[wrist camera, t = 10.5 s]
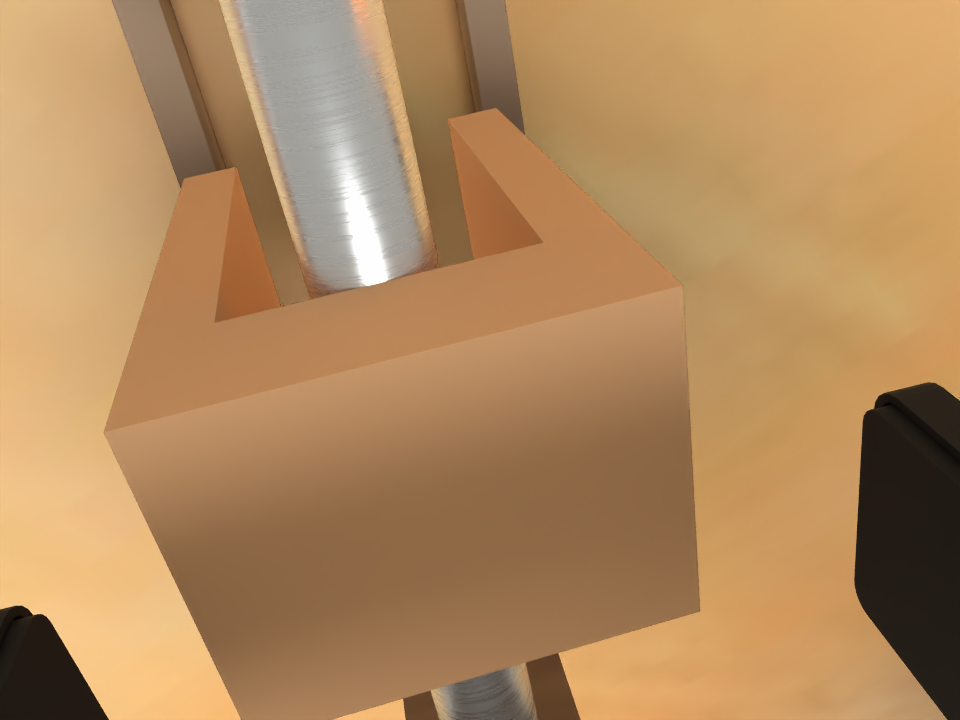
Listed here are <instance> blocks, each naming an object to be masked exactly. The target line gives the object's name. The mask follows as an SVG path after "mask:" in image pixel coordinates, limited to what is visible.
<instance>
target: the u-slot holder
mask: <svg viewBox="0 0 960 720" xmlns="http://www.w3.org/2000/svg"><path fill="white" fill-rule="evenodd" d="M447 120H448V125H449V130H450V136H451V141H452V146H453V152H454V157H455V162H456V168H457V173H458V178H459V184H460V189H461V194H462V200H463V205H464V210H465V216H466V221H467V226H468V232H469V237H470V242H471V248H472V253H473V258H474V260H471V261H467V262H462V263H458V264H454V265H450V266H446V267H442V268H438V269H434V270H430V271H426V272H421V273H417V274H413V275H409V276H405V277H401V278H397V279H393V280H389V281H385V282H381V283H377V284H373V285H368V286H364V287H360V288H356V289H352V290H348V291H344V292H340V293H335V294H331V295H327V296H323V297H319V298H315V299H311V300H307V301H303V302H299V303H294V304H290V305H286V306H282V307H281V305H280V302H279V299H278V296H277V293H276V289H275V286H274V283H273V280H272V277H271V274H270V271H269V268H268V265H267V261H266V258H265V255H264V252H263V249H262V246H261V243H260V240H259V237H258V233H257V230H256V227H255V224H254V221H253V218H252V215H251V212H250V209H249V205H248V202H247V199H246V196H245V193H244V190H243V187H242V184H241V181H240V177H239V174H238V171H237V168H236V167H233V168H229V169H224V170H220V171H216V172H211V173H207V174H202V175H198V176H193V177H189V178H185V179H184V181H183V184H182V187H181V190H180V193H179V197H178V200H177V203H176V206H175V209H174V212H173V216H172V219H171V222H170V225H169V228H168V231H167V234H166V238H165V241H164V244H163V247H162V250H161V253H160V256H159V260H158V263H157V266H156V269H155V272H154V275H153V279H152V282H151V285H150V288H149V291H148V294H147V297H146V301H145V304H144V307H143V310H142V313H141V316H140V320H139V323H138V326H137V329H136V332H135V335H134V338H133V342H132V345H131V348H130V351H129V354H128V357H127V360H126V364H125V367H124V370H123V373H122V376H121V379H120V383H119V386H118V389H117V392H116V395H115V398H114V401H113V405H112V408H111V411H110V414H109V417H108V420H107V423H106V427H105V430H104V434H105V436H106V438H107V440H108V443H109V445H110V447H111V449H112V451H113V453H114V455H115V457H116V459H117V461H118V463H119V465H120V468H121V470H122V472H123V474H124V476H125V478H126V480H127V482H128V484H129V486H130V488H131V490H132V493H133V495H134V497H135V499H136V501H137V503H138V505H139V507H140V509H141V511H142V513H143V516H144V518H145V520H146V522H147V524H148V526H149V528H150V530H151V532H152V534H153V536H154V538H155V541H156V543H157V545H158V547H159V549H160V551H161V553H162V555H163V557H164V559H165V561H166V563H167V566H168V568H169V570H170V572H171V574H172V576H173V578H174V580H175V582H176V584H177V586H178V589H179V591H180V593H181V595H182V597H183V599H184V601H185V603H186V605H187V607H188V609H189V611H190V614H191V616H192V618H193V620H194V622H195V624H196V626H197V628H198V630H199V632H200V634H201V636H202V639H203V641H204V643H205V645H206V647H207V649H208V651H209V653H210V655H211V657H212V659H213V661H214V664H215V666H216V668H217V670H218V672H219V674H220V676H221V678H222V680H223V682H224V684H225V687H226V689H227V691H228V693H229V695H230V697H231V699H232V701H233V703H234V705H235V707H236V709H237V712H238V714H239V716H240V718H241V720H332V719H335V718H339V717H342V716H345V715H349V714H352V713H356V712H359V711H362V710H366V709H369V708H373V707H376V706H379V705H383V704H386V703H390V702H393V701H396V700H400V699H403V698H407V697H410V696H413V695H417V694H420V693H424V692H427V691H430V690H434V689H437V688H441V687H444V686H447V685H451V684H454V683H458V682H461V681H464V680H468V679H471V678H475V677H478V676H481V675H485V674H488V673H492V672H495V671H498V670H502V669H505V668H509V667H512V666H515V665H519V664H522V663H526V662H529V661H532V660H536V659H539V658H543V657H546V656H549V655H553V654H556V653H560V652H563V651H566V650H570V649H573V648H577V647H580V646H583V645H587V644H590V643H594V642H597V641H601V640H604V639H607V638H611V637H614V636H618V635H621V634H624V633H628V632H631V631H635V630H638V629H641V628H645V627H648V626H652V625H655V624H658V623H662V622H665V621H669V620H672V619H675V618H679V617H682V616H686V615H689V614H692V613H696V612H699V611H700V598H699V579H698V561H697V542H696V523H695V504H694V485H693V467H692V448H691V429H690V410H689V391H688V372H687V354H686V335H685V316H684V297H683V285H682V284H681V283H680V282H679V281H677V280H676V279H675V278H674V277H673V276H672V275H671V274H670V273H669V272H668V271H667V270H666V269H665V268H664V267H663V266H662V265H661V264H660V263H659V262H658V261H656V260H655V259H654V258H653V257H652V256H651V255H650V254H649V253H648V252H647V251H646V250H645V249H644V248H643V247H642V246H641V245H640V244H639V243H638V242H637V241H635V240H634V239H633V238H632V237H631V236H630V235H629V234H628V233H627V232H626V231H625V230H624V229H623V228H622V227H621V226H620V225H619V224H618V223H617V222H615V221H614V220H613V219H612V218H611V217H610V216H609V215H608V214H607V213H606V212H605V211H604V210H603V209H602V208H601V207H600V206H599V205H598V204H597V203H596V202H594V201H593V200H592V199H591V198H590V197H589V196H588V195H587V194H586V193H585V192H584V191H583V190H582V189H581V188H580V187H579V186H578V185H577V184H576V183H575V182H573V181H572V180H571V179H570V178H569V177H568V176H567V175H566V174H565V173H564V172H563V171H562V170H561V169H560V168H559V167H558V166H557V165H556V164H555V163H553V162H552V161H551V160H550V159H549V158H548V157H547V156H546V155H545V154H544V153H543V152H542V151H541V150H540V149H539V148H538V147H537V146H536V145H535V144H534V143H532V142H531V141H530V140H529V139H528V138H527V137H526V136H525V135H524V134H523V133H522V132H521V131H520V130H519V129H518V128H517V127H516V126H515V125H514V124H513V123H511V122H510V121H509V120H508V119H507V118H506V117H505V116H504V115H503V114H502V113H501V112H500V111H499V110H498V109H497V108H494V109H489V110H485V111H480V112H476V113H472V114H467V115H463V116H458V117H454V118H450V119H447Z"/></svg>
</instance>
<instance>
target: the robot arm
mask: <svg viewBox="0 0 960 720" xmlns="http://www.w3.org/2000/svg"><path fill="white" fill-rule="evenodd" d="M854 580H855V589H856V593H857V596H858V599H859V601H860V603H861V605H862V607H863V609H864V611H865V612H866V614H867V615H868V616H869V618H870V619H871V620H872V622H873V623H874V624H875V626H876V627H877V628H878V629H879V631H880V632H881V633H882V635H883V636H884V637H885V639H886V640H887V641H888V643H889V644H890V645H891V646H892V648H893V649H894V650H895V652H896V653H897V654H898V656H899V657H900V658H901V660H902V661H903V662H904V663H905V665H906V666H907V667H908V669H909V670H910V671H911V673H912V674H913V675H914V677H915V678H916V679H917V681H918V682H919V683H920V684H921V686H922V687H923V688H924V690H925V691H926V692H927V694H928V695H929V696H930V698H931V699H932V700H933V701H934V703H935V704H936V705H937V707H938V708H939V709H940V711H941V712H942V713H943V715H944V716H945V717H946V718H947V720H960V401H959V400H958V399H957V398H955V397H954V396H953V395H952V394H950V393H949V392H948V391H947V390H945V389H944V388H943V387H941V386H939V385H937V384H936V383H924V384H920V385H916V386H912V387H908V388H904V389H899V390H895V391H891V392H887V393H884V394H882V395H880V396H879V397H878V398H877V400H876V402H875V407H874V409H871V410H869V411H867V412H866V413H865V415H864V419H863V429H862V447H861V466H860V485H859V503H858V522H857V541H856V559H855V578H854ZM0 720H109V719H108V718H107V716H106V714H105V713H104V711H103V709H102V707H101V706H100V704H99V702H98V701H97V699H96V697H95V696H94V694H93V692H92V691H91V689H90V687H89V686H88V684H87V682H86V681H85V679H84V677H83V675H82V674H81V672H80V670H79V669H78V667H77V665H76V664H75V662H74V660H73V659H72V657H71V655H70V654H69V652H68V650H67V649H66V647H65V645H64V643H63V642H62V640H61V638H60V637H59V635H58V633H57V632H56V630H55V628H54V627H53V625H52V623H51V622H50V621H49V619H48V618H47V617H46V616H44V615H43V614H37V615H32V613H31V612H30V611H29V610H28V609H27V608H25V607H23V606H13V607H9V608H5V609H0Z"/></svg>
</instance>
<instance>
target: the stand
mask: <svg viewBox="0 0 960 720" xmlns="http://www.w3.org/2000/svg"><path fill="white" fill-rule="evenodd" d="M112 2H113V5H114V8H115V10H116V13H117V16H118V18H119V21H120V24H121V27H122V29H123V32H124V35H125V38H126V40H127V43H128V46H129V49H130V51H131V54H132V57H133V59H134V62H135V65H136V68H137V70H138V73H139V76H140V79H141V81H142V84H143V87H144V89H145V92H146V95H147V98H148V100H149V103H150V106H151V109H152V111H153V114H154V117H155V120H156V122H157V125H158V128H159V130H160V133H161V136H162V139H163V141H164V144H165V147H166V150H167V152H168V155H169V158H170V160H171V163H172V166H173V169H174V171H175V174H176V177H177V180H178V182H179V185H180V188H181V187H182V184H183V181H184V179H185V178H189V177H193V176H198V175H202V174H207V173H211V172H216V171H220V170H224V169H226V168H225V165H224V162H223V159H222V156H221V153H220V150H219V147H218V144H217V141H216V138H215V135H214V132H213V129H212V126H211V123H210V120H209V117H208V114H207V111H206V108H205V105H204V102H203V99H202V96H201V93H200V90H199V87H198V84H197V81H196V78H195V75H194V72H193V69H192V66H191V63H190V60H189V57H188V54H187V51H186V48H185V45H184V42H183V39H182V36H181V33H180V30H179V27H178V24H177V21H176V18H175V15H174V12H173V9H172V6H171V3H170V0H112ZM456 5H457V11H458V16H459V22H460V28H461V33H462V39H463V45H464V51H465V56H466V62H467V68H468V73H469V79H470V85H471V90H472V96H473V102H474V107H475V113H476V112H480V111H485V110H489V109H494V108H497V109H498V110H499V111H500V112H501V113H502V114H503V115H504V116H505V117H506V118H507V119H508V120H509V121H510V122H511V123H513V124H514V125H515V126H516V127H517V128H518V129H519V130H520V131H521V132H522V133H523V134H524V135H525V133H524V126H523V119H522V112H521V106H520V99H519V92H518V85H517V79H516V72H515V65H514V59H513V52H512V45H511V38H510V32H509V25H508V18H507V11H506V5H505V0H456ZM526 666H527V671H528V676H529V680H530V685H531V689H532V694H533V699H534V703H535V708H536V713H537V717H538V720H580V717H579V714H578V711H577V708H576V705H575V702H574V699H573V696H572V693H571V690H570V687H569V684H568V681H567V678H566V675H565V672H564V669H563V667H562V664H561V661H560V658H559V655H558V653H556V654H553V655H549V656H546V657H543V658H539V659H536V660H532V661H529V662H526ZM403 701H404V709H405V717H406V720H439V717H438V713H437V710H436V707H435V704H434V700H433V697H432V694H431V691H427V692H424V693H420V694H417V695H413V696H410V697H407V698H403Z"/></svg>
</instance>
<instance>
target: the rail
mask: <svg viewBox="0 0 960 720" xmlns="http://www.w3.org/2000/svg"><path fill="white" fill-rule="evenodd" d="M219 4H220V7H221V10H222V13H223V17H224V20H225V23H226V26H227V30H228V33H229V36H230V39H231V43H232V46H233V49H234V52H235V56H236V59H237V62H238V66H239V69H240V72H241V75H242V79H243V82H244V85H245V88H246V92H247V95H248V98H249V101H250V105H251V108H252V111H253V114H254V118H255V121H256V124H257V127H258V131H259V134H260V137H261V140H262V144H263V147H264V150H265V153H266V157H267V160H268V163H269V166H270V170H271V173H272V176H273V179H274V183H275V186H276V189H277V192H278V196H279V199H280V202H281V206H282V209H283V212H284V215H285V219H286V222H287V225H288V228H289V232H290V235H291V238H292V241H293V245H294V248H295V251H296V254H297V258H298V261H299V264H300V267H301V271H302V274H303V277H304V280H305V284H306V287H307V290H308V293H309V297H310V300H311V299H315V298H319V297H323V296H327V295H331V294H335V293H340V292H344V291H348V290H352V289H356V288H360V287H364V286H368V285H373V284H377V283H381V282H385V281H389V280H393V279H397V278H401V277H405V276H409V275H413V274H417V273H421V272H426V271H430V270H434V269H438V268H440V264H439V259H438V255H437V250H436V246H435V241H434V236H433V232H432V227H431V222H430V218H429V213H428V209H427V204H426V199H425V195H424V190H423V185H422V181H421V176H420V172H419V167H418V162H417V158H416V153H415V148H414V144H413V139H412V135H411V130H410V125H409V121H408V116H407V111H406V107H405V102H404V98H403V93H402V88H401V84H400V79H399V74H398V70H397V65H396V61H395V56H394V51H393V47H392V42H391V37H390V33H389V28H388V24H387V19H386V14H385V10H384V5H383V0H219ZM430 691H431V694H432V697H433V700H434V704H435V707H436V710H437V713H438V717H439V720H538V717H537V713H536V708H535V703H534V699H533V694H532V689H531V685H530V680H529V676H528V671H527V666H526V663H522V664H519V665H515V666H512V667H509V668H505V669H502V670H498V671H495V672H492V673H488V674H485V675H481V676H478V677H475V678H471V679H468V680H464V681H461V682H458V683H454V684H451V685H447V686H444V687H441V688H437V689H434V690H430Z"/></svg>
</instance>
